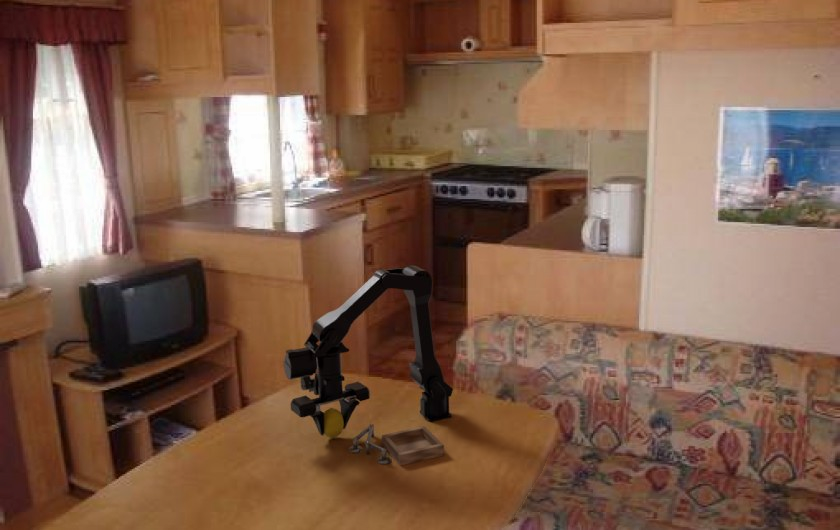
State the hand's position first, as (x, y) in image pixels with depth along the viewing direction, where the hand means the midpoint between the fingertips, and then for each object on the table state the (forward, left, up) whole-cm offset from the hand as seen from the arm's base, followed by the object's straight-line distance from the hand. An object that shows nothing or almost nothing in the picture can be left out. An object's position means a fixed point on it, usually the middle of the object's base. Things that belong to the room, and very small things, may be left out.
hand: (332, 431), depth 190 cm
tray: (-15, +14, -2) cm, 21 cm away
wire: (-5, +10, -2) cm, 12 cm away
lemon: (0, 0, -2) cm, 2 cm away
